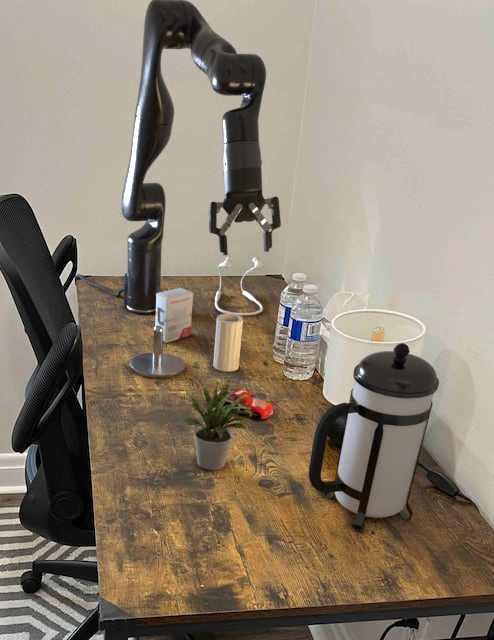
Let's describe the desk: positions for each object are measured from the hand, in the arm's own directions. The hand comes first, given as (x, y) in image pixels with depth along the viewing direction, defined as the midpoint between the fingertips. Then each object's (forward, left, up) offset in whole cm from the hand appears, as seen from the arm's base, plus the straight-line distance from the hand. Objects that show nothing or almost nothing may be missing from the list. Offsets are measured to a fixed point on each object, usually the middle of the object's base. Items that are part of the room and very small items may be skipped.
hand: (245, 253), depth 150 cm
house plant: (+12, -34, -30) cm, 47 cm away
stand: (-20, -2, -30) cm, 36 cm away
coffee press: (+41, -31, -30) cm, 60 cm away
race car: (+7, -10, -30) cm, 32 cm away
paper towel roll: (-7, +8, -30) cm, 32 cm away
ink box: (-27, +16, -30) cm, 43 cm away
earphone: (-26, +49, -30) cm, 63 cm away
